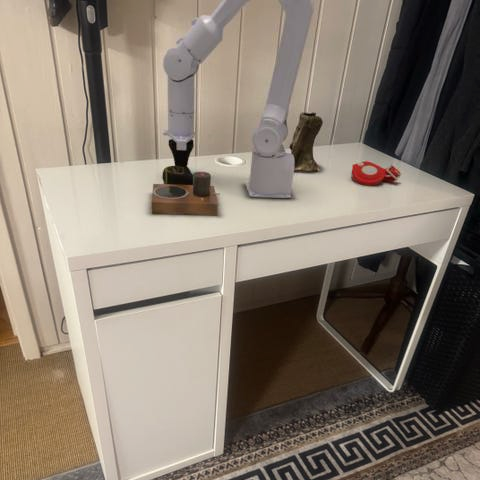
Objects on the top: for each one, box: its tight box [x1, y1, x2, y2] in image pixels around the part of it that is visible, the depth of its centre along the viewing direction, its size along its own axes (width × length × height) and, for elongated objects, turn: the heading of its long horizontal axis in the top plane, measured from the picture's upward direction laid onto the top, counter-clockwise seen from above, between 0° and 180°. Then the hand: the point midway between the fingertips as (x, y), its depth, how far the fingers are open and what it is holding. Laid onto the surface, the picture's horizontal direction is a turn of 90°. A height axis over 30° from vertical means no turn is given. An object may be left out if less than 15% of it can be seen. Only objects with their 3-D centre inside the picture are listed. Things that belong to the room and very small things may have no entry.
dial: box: [192, 171, 212, 197], centre depth 95 cm, size 4×4×4 cm
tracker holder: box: [351, 160, 403, 186], centre depth 119 cm, size 12×4×10 cm
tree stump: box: [289, 111, 324, 172], centre depth 120 cm, size 10×10×13 cm
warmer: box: [151, 183, 221, 216], centre depth 96 cm, size 14×10×3 cm
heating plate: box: [154, 186, 188, 199], centre depth 95 cm, size 7×7×1 cm
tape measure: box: [161, 165, 193, 185], centre depth 105 cm, size 7×7×4 cm
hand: (181, 172), depth 109 cm, fingers closed
